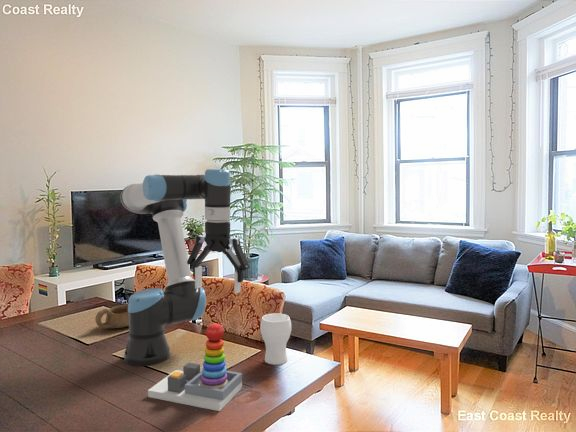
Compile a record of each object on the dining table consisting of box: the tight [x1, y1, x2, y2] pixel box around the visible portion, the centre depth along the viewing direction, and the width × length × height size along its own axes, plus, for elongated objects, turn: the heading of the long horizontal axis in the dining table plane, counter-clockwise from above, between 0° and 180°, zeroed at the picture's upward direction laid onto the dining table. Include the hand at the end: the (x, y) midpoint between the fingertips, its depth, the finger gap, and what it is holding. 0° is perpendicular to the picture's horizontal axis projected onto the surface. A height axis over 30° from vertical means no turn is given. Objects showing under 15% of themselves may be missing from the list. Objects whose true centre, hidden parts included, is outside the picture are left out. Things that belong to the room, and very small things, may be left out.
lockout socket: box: [185, 370, 243, 400], centre depth 127 cm, size 12×12×2 cm
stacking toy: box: [200, 323, 228, 389], centre depth 126 cm, size 8×8×19 cm
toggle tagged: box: [168, 371, 186, 393], centre depth 125 cm, size 4×3×5 cm
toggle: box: [182, 362, 201, 381], centre depth 132 cm, size 4×3×4 cm
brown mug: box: [94, 303, 129, 329], centre depth 183 cm, size 18×14×10 cm
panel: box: [147, 369, 243, 412], centre depth 128 cm, size 23×14×2 cm, turn 71°
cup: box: [259, 312, 292, 365], centre depth 150 cm, size 11×11×15 cm
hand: (217, 290), depth 133 cm, fingers open, 13 cm apart
